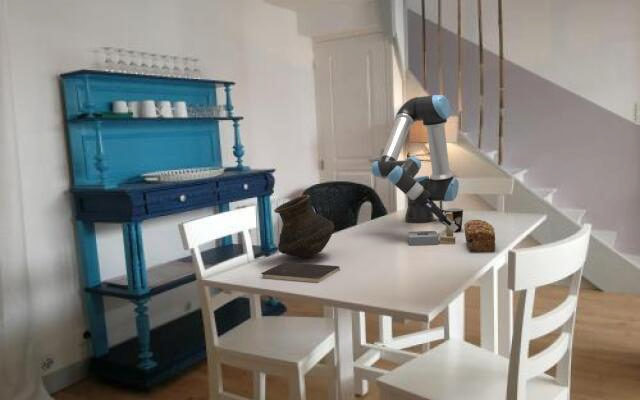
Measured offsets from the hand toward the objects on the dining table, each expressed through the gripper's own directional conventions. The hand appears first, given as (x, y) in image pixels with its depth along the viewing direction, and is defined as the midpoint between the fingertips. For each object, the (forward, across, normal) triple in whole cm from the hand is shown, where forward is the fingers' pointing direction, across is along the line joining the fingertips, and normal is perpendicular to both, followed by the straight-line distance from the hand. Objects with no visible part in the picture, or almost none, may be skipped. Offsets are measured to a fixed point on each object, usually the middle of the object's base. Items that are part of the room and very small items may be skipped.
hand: (454, 226), depth 227 cm
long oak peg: (+2, 0, -5) cm, 5 cm away
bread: (+9, +20, +2) cm, 22 cm away
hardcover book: (-38, +53, -46) cm, 80 cm away
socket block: (-7, +7, -13) cm, 16 cm away
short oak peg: (+1, +11, -6) cm, 13 cm away
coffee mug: (+3, -15, -4) cm, 16 cm away
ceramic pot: (-40, +28, -47) cm, 67 cm away
